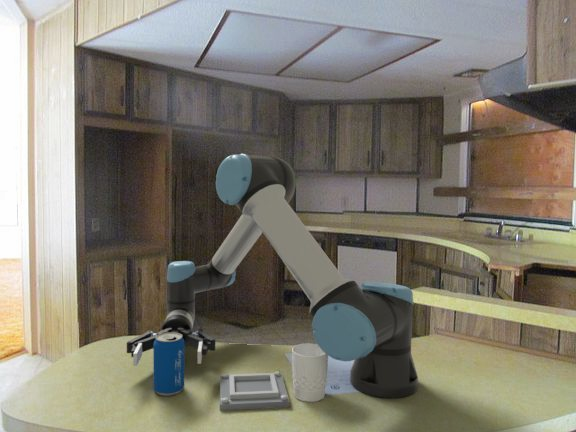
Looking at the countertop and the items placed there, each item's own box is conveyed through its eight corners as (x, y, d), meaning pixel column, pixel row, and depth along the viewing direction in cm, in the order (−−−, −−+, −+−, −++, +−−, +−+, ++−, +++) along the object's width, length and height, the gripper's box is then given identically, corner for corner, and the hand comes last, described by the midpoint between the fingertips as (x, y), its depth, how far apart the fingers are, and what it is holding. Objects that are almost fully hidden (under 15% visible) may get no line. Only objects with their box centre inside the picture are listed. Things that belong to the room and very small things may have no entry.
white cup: (302, 406, 96) (303, 358, 95) (284, 391, 103) (285, 346, 102) (334, 399, 100) (335, 352, 99) (315, 384, 107) (316, 341, 106)
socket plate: (281, 378, 110) (281, 369, 109) (289, 407, 96) (289, 396, 96) (220, 380, 108) (220, 371, 107) (219, 410, 94) (219, 399, 94)
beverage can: (166, 400, 98) (166, 343, 97) (147, 391, 102) (147, 337, 101) (190, 389, 103) (190, 336, 102) (171, 381, 107) (171, 329, 106)
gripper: (225, 340, 125) (225, 373, 104) (128, 343, 122) (107, 377, 101) (225, 313, 125) (225, 340, 104) (128, 315, 121) (107, 343, 100)
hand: (167, 358), depth 102 cm, fingers open, 13 cm apart
